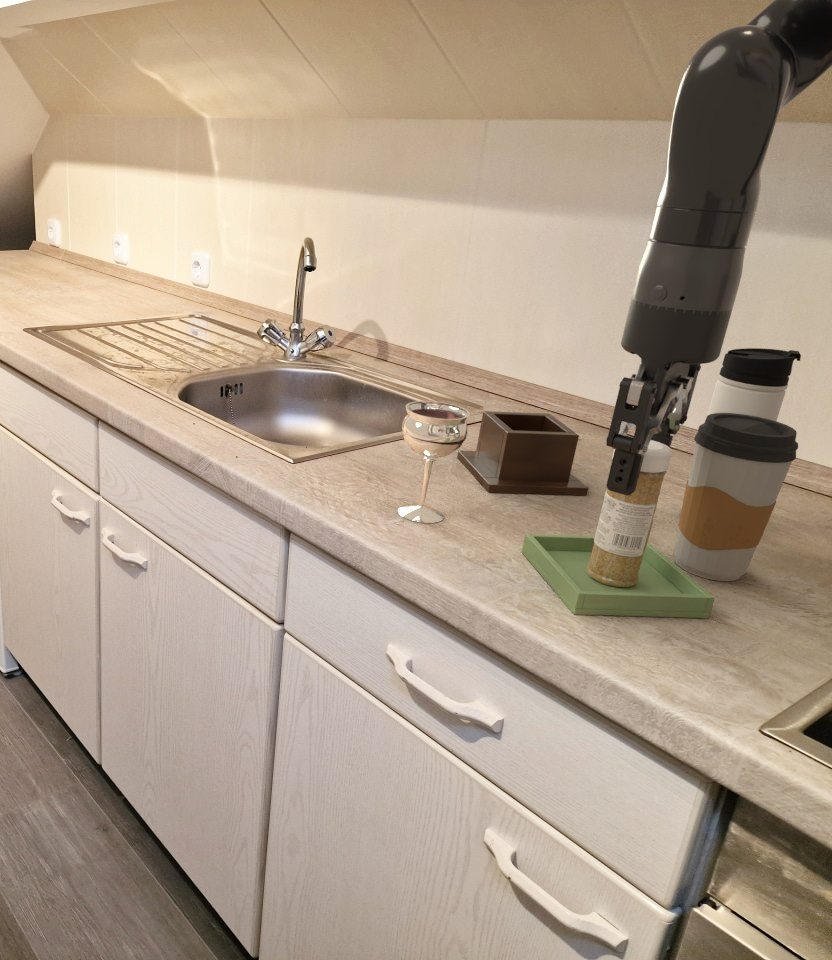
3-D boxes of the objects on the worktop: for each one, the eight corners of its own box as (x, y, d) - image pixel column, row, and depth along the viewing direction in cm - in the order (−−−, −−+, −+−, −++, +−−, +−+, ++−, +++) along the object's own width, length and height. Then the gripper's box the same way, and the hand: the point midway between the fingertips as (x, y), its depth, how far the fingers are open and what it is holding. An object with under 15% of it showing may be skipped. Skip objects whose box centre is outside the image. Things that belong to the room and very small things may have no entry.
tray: (639, 556, 87) (644, 537, 86) (708, 618, 75) (715, 597, 75) (521, 552, 86) (525, 533, 86) (573, 614, 75) (578, 593, 74)
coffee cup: (771, 574, 84) (819, 430, 79) (732, 595, 80) (780, 444, 74) (686, 542, 90) (725, 406, 85) (645, 560, 86) (683, 418, 80)
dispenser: (546, 460, 113) (557, 410, 110) (587, 495, 102) (600, 440, 99) (456, 457, 112) (465, 406, 110) (488, 492, 101) (498, 436, 99)
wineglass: (378, 503, 96) (393, 401, 92) (431, 499, 98) (448, 399, 94) (409, 528, 90) (425, 421, 86) (464, 523, 92) (483, 418, 88)
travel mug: (746, 540, 91) (804, 358, 84) (677, 525, 94) (728, 348, 87) (744, 521, 97) (799, 347, 89) (679, 507, 99) (727, 338, 92)
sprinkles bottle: (639, 575, 81) (675, 442, 76) (634, 594, 78) (672, 456, 73) (588, 562, 84) (619, 432, 79) (581, 580, 80) (614, 445, 75)
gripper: (707, 315, 64) (653, 515, 70) (753, 297, 73) (703, 474, 80) (604, 300, 68) (562, 488, 75) (660, 285, 78) (619, 453, 84)
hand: (635, 481), depth 77 cm, fingers open, 7 cm apart
